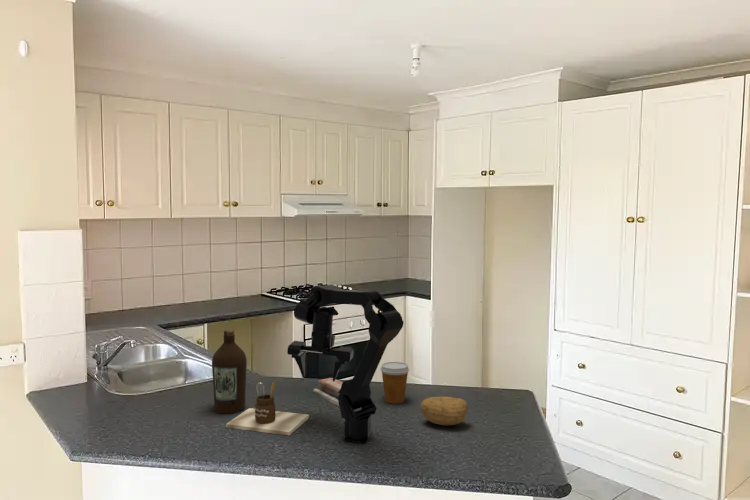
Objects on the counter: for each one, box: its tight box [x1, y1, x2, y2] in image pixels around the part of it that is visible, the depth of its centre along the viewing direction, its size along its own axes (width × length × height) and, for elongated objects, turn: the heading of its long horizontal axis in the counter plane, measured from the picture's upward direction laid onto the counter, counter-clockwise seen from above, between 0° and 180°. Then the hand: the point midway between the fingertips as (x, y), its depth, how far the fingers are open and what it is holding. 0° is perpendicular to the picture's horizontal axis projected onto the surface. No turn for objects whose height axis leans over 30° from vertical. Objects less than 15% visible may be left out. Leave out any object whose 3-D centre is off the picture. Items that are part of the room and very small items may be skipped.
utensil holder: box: [254, 380, 277, 424], centre depth 165 cm, size 6×6×12 cm
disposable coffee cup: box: [380, 361, 410, 405], centre depth 187 cm, size 10×10×12 cm
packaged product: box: [313, 377, 343, 407], centre depth 191 cm, size 18×5×10 cm
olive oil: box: [211, 329, 248, 415], centre depth 177 cm, size 11×11×25 cm
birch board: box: [225, 407, 310, 436], centre depth 167 cm, size 20×14×1 cm
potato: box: [420, 396, 469, 427], centre depth 166 cm, size 10×14×8 cm
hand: (318, 379), depth 166 cm, fingers open, 9 cm apart
